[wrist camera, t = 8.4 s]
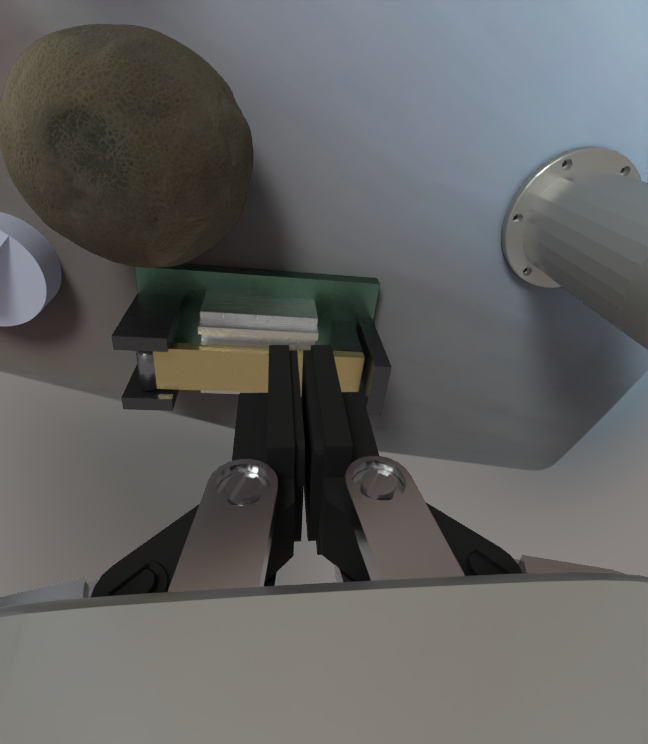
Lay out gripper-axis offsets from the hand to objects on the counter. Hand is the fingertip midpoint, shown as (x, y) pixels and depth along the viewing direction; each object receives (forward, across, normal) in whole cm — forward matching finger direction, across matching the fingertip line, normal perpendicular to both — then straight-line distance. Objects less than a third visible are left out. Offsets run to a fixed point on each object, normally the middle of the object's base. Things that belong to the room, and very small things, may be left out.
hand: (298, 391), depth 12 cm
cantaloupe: (+31, +9, -2) cm, 32 cm away
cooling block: (+31, +2, +14) cm, 34 cm away
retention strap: (+24, +3, +14) cm, 28 cm away
